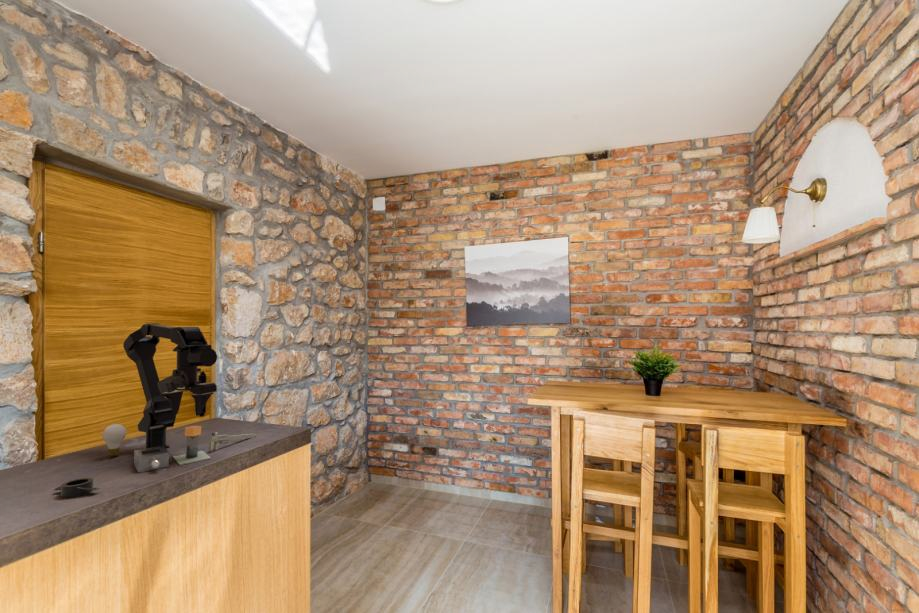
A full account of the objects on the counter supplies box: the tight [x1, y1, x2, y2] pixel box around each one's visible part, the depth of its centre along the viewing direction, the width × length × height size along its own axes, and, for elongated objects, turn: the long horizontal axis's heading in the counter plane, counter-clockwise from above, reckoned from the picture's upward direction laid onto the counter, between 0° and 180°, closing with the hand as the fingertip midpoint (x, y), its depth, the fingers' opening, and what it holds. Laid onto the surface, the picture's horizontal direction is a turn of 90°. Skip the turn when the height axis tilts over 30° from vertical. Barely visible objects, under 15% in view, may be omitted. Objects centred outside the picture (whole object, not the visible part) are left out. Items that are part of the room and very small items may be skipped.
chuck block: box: [133, 446, 170, 473], centre depth 122 cm, size 14×7×4 cm, turn 43°
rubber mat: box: [172, 450, 212, 466], centre depth 129 cm, size 10×8×1 cm
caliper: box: [207, 431, 258, 453], centre depth 145 cm, size 20×1×6 cm, turn 165°
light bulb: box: [101, 423, 127, 458], centre depth 132 cm, size 6×6×10 cm
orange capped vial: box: [184, 425, 202, 458], centre depth 130 cm, size 3×3×9 cm
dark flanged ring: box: [53, 477, 101, 499], centre depth 103 cm, size 8×10×3 cm
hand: (186, 414), depth 136 cm, fingers open, 9 cm apart
